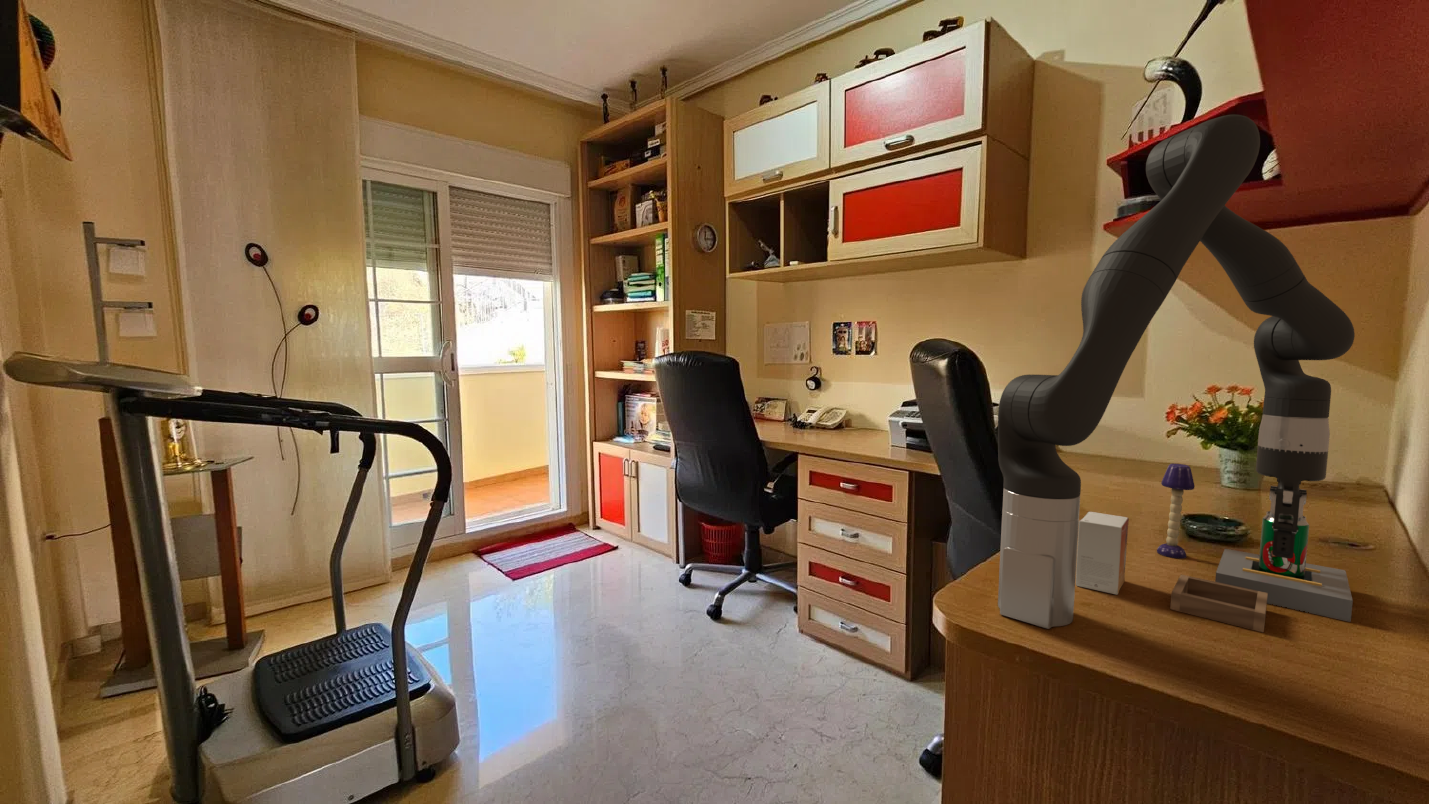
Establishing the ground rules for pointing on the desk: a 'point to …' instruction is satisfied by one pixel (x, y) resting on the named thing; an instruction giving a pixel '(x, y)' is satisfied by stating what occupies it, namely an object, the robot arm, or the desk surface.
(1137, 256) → the robot arm
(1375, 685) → the desk surface
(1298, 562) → the soda can
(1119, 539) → the small box
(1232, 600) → the wooden square frame
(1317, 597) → the socket
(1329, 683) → the desk surface
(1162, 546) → the toy lamp
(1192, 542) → the desk surface
